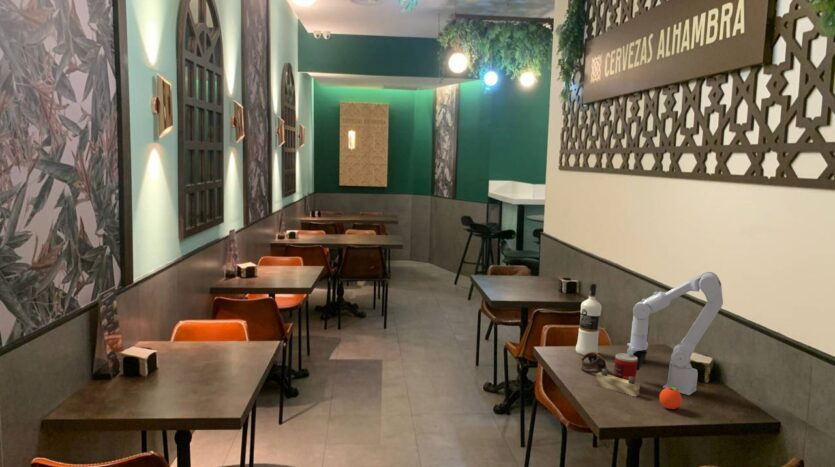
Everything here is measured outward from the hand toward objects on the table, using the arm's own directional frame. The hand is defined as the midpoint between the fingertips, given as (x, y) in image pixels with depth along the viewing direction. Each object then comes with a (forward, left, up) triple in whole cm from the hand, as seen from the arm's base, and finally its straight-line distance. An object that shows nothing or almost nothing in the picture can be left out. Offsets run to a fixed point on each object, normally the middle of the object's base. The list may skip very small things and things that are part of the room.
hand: (635, 369), depth 233 cm
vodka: (+28, -16, -4) cm, 32 cm away
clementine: (-19, +17, -4) cm, 26 cm away
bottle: (+10, -25, -4) cm, 27 cm away
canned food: (0, +9, -4) cm, 10 cm away
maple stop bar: (0, +16, -4) cm, 16 cm away
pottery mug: (+16, +2, -4) cm, 16 cm away
